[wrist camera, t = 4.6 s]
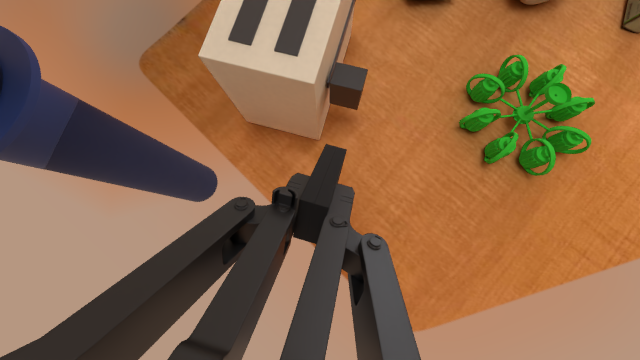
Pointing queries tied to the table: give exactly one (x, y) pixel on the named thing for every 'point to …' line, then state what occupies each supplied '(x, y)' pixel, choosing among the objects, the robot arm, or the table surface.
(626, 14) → the medication box
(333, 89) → the slider button
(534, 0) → the ceramic mug
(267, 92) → the toaster
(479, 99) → the chandelier
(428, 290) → the table surface
